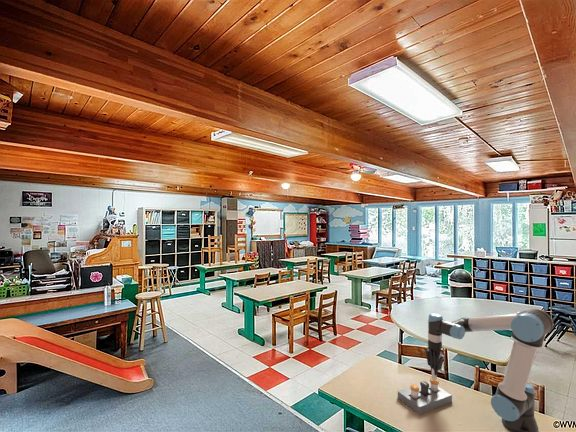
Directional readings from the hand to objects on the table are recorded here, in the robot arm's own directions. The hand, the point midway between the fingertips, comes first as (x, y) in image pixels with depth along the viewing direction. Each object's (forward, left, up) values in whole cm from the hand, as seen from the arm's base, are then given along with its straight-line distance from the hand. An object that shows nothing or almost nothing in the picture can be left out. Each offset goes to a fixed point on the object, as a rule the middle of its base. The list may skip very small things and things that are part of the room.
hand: (434, 379), depth 181 cm
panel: (0, +8, -10) cm, 13 cm away
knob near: (0, +16, -7) cm, 18 cm away
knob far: (0, 0, -7) cm, 7 cm away
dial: (0, +8, -7) cm, 11 cm away
